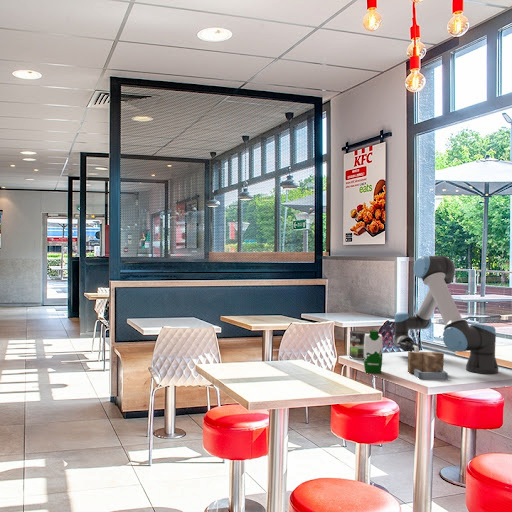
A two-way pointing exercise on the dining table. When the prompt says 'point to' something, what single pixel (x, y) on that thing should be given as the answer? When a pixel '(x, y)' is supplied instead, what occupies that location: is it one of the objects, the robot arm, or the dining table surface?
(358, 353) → the coffee can
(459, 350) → the robot arm
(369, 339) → the milk carton
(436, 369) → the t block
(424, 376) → the tray
